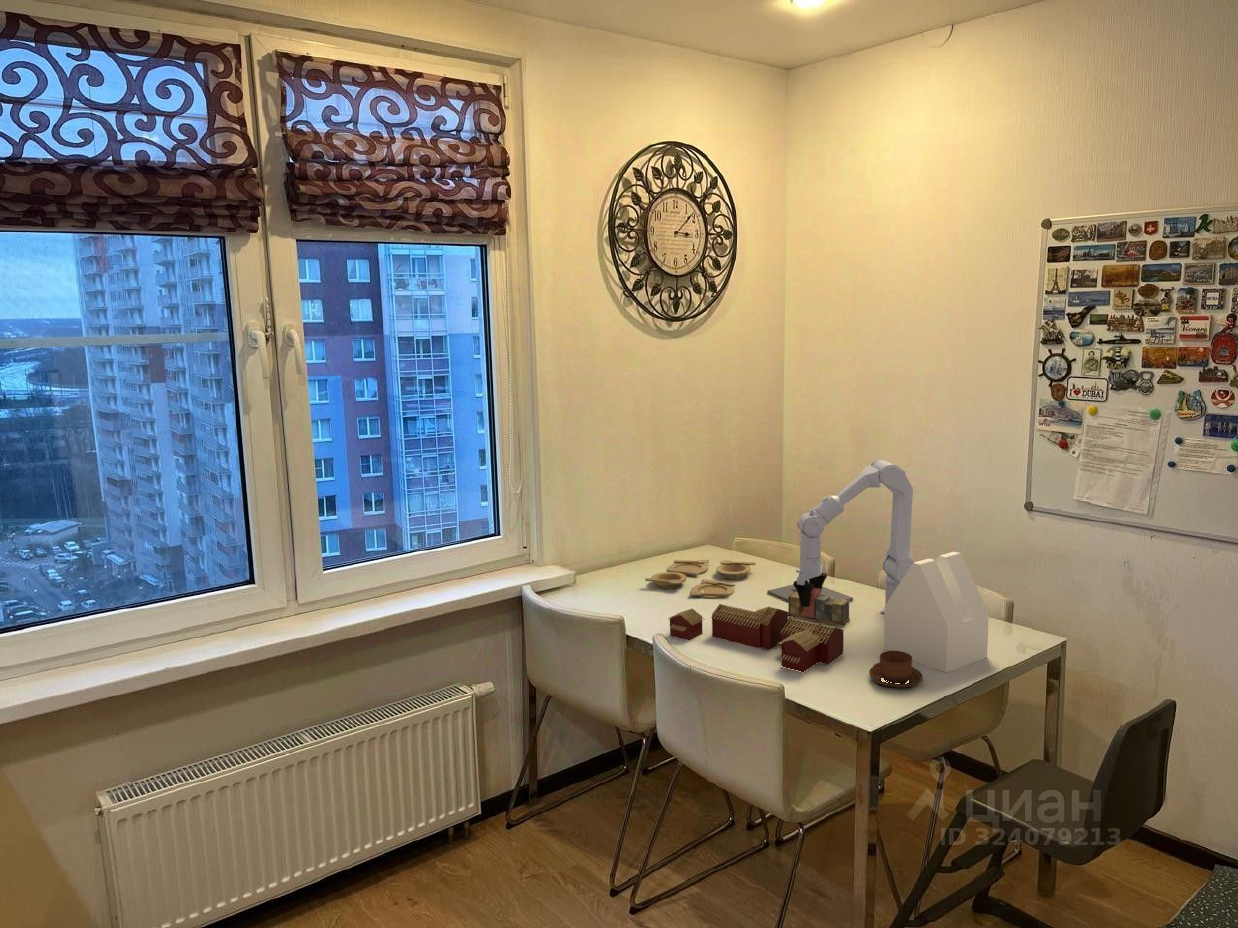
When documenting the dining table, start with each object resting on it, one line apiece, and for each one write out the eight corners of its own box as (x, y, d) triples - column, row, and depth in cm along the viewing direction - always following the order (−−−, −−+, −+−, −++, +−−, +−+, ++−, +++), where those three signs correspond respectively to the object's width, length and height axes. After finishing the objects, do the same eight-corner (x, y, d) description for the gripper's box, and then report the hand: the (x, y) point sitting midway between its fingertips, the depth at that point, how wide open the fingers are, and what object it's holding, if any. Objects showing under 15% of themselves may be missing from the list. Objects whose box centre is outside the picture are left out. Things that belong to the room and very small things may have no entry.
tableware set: (678, 562, 315) (678, 551, 315) (759, 570, 303) (759, 558, 302) (636, 593, 284) (636, 581, 284) (725, 603, 272) (725, 591, 271)
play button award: (811, 608, 261) (767, 590, 278) (811, 613, 261) (767, 595, 278) (853, 597, 269) (807, 580, 286) (853, 602, 269) (807, 585, 286)
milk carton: (884, 648, 233) (885, 554, 228) (924, 634, 241) (926, 544, 236) (946, 672, 217) (949, 572, 212) (987, 657, 225) (990, 560, 220)
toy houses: (848, 651, 232) (848, 613, 231) (809, 678, 217) (809, 638, 215) (703, 617, 261) (702, 583, 259) (660, 639, 246) (659, 603, 244)
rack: (849, 620, 253) (849, 598, 251) (843, 626, 249) (844, 603, 248) (794, 611, 262) (794, 589, 261) (787, 616, 258) (787, 594, 257)
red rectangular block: (820, 612, 258) (820, 588, 256) (813, 617, 253) (813, 593, 252) (810, 610, 259) (810, 587, 258) (803, 615, 255) (803, 592, 254)
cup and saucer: (900, 696, 205) (900, 671, 204) (858, 679, 215) (858, 655, 214) (933, 682, 212) (933, 657, 211) (890, 666, 222) (891, 642, 221)
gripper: (807, 547, 262) (807, 592, 264) (786, 560, 250) (786, 607, 252) (830, 550, 258) (830, 596, 260) (810, 564, 246) (810, 611, 248)
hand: (810, 602), depth 256 cm, fingers open, 7 cm apart
